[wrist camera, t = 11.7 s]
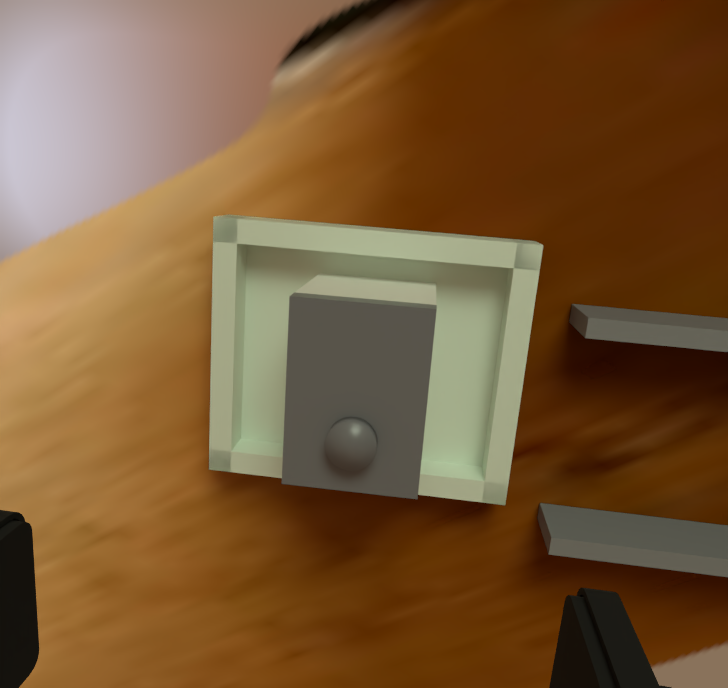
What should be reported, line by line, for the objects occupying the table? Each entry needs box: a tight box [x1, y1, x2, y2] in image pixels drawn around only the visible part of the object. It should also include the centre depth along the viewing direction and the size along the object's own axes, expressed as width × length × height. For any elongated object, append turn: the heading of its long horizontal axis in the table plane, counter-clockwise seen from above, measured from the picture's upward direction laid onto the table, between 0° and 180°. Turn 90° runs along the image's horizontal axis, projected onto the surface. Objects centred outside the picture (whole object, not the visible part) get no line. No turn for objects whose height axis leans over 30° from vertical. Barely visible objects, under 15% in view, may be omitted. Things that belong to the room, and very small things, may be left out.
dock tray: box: [209, 215, 543, 505], centre depth 27 cm, size 13×11×2 cm
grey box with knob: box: [282, 273, 437, 499], centre depth 25 cm, size 5×7×7 cm
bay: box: [537, 304, 728, 577], centre depth 26 cm, size 13×10×3 cm
